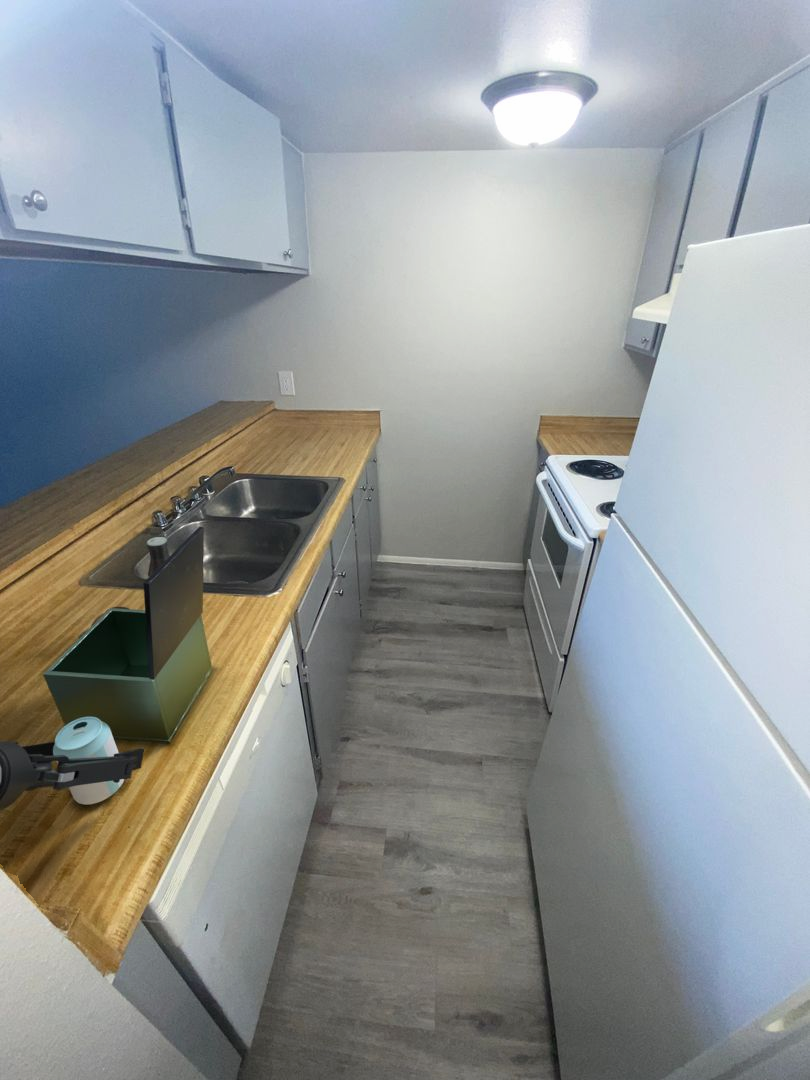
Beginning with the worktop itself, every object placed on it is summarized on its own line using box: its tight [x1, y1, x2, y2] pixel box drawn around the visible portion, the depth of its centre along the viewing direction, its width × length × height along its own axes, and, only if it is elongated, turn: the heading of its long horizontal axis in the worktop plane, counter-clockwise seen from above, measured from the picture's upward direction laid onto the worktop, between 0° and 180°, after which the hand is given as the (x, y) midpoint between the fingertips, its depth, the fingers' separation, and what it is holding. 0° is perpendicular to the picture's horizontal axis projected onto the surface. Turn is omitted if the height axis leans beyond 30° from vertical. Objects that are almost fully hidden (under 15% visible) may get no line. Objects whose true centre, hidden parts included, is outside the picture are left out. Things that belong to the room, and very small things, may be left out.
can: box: [53, 717, 125, 805], centre depth 70 cm, size 7×7×12 cm
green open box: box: [42, 607, 214, 745], centre depth 85 cm, size 18×18×14 cm
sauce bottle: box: [146, 536, 171, 578], centre depth 107 cm, size 7×6×20 cm
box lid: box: [143, 526, 205, 680], centre depth 77 cm, size 18×18×1 cm
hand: (96, 754), depth 72 cm, fingers open, 13 cm apart
